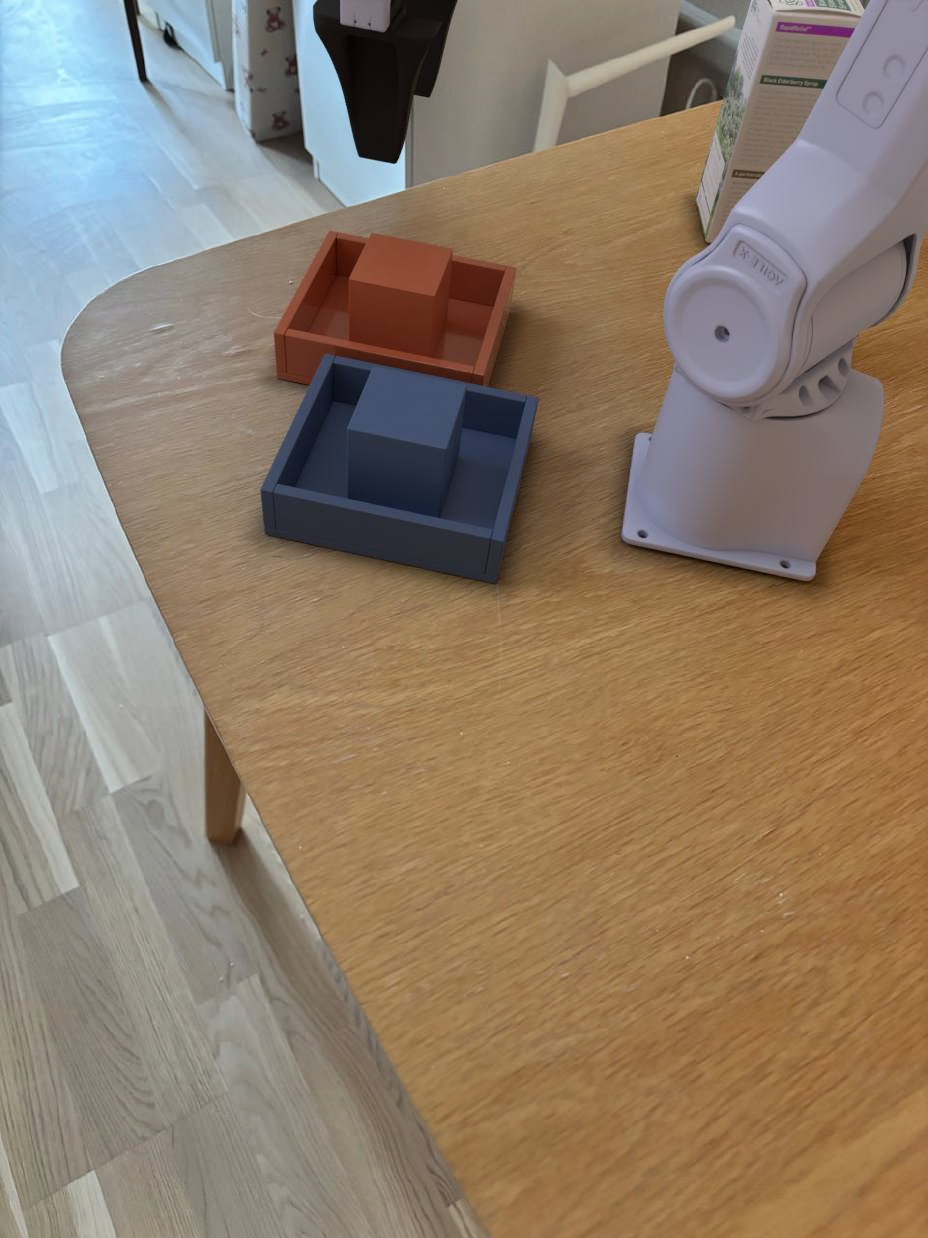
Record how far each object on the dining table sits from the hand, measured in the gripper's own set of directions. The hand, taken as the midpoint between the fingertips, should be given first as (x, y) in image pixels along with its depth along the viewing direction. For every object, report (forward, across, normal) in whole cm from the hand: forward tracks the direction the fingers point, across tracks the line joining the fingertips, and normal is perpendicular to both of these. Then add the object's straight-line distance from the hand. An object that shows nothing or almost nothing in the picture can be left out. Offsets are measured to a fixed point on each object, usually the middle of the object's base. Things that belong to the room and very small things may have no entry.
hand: (396, 123), depth 52 cm
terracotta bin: (+9, +6, +2) cm, 11 cm away
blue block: (+9, +17, +5) cm, 20 cm away
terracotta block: (+9, +6, +2) cm, 11 cm away
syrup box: (+10, -14, +21) cm, 27 cm away
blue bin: (+9, +17, +5) cm, 20 cm away
